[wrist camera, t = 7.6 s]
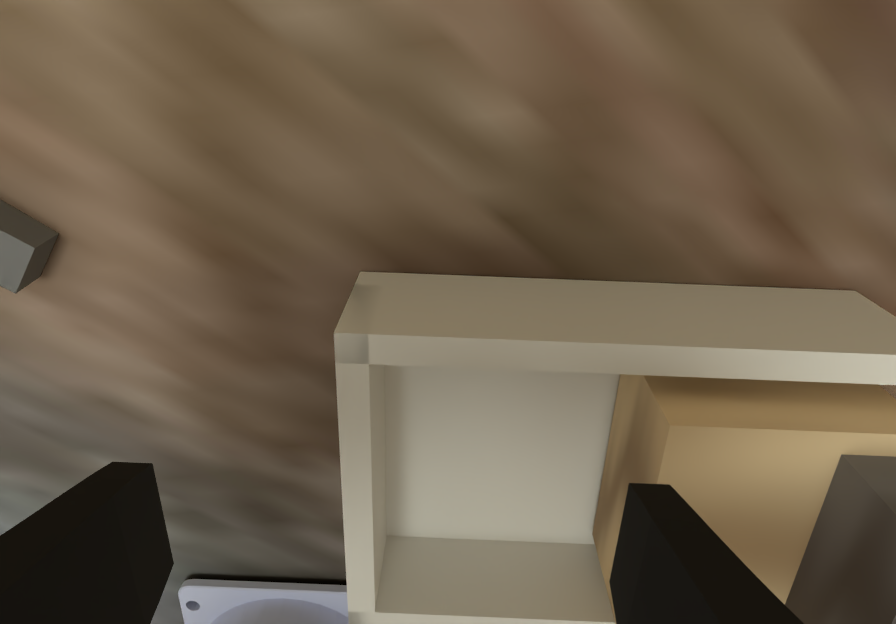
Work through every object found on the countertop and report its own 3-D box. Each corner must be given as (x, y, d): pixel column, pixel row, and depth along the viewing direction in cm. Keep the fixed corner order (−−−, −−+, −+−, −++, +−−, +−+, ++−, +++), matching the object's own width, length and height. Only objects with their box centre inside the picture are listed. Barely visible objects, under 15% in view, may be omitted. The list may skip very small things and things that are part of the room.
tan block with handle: (772, 541, 20) (910, 766, 14) (592, 534, 20) (649, 755, 14) (838, 350, 17) (1051, 529, 11) (625, 342, 17) (718, 515, 11)
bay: (767, 547, 22) (829, 649, 18) (367, 530, 22) (348, 629, 18) (854, 290, 18) (957, 357, 14) (360, 271, 18) (333, 332, 14)
